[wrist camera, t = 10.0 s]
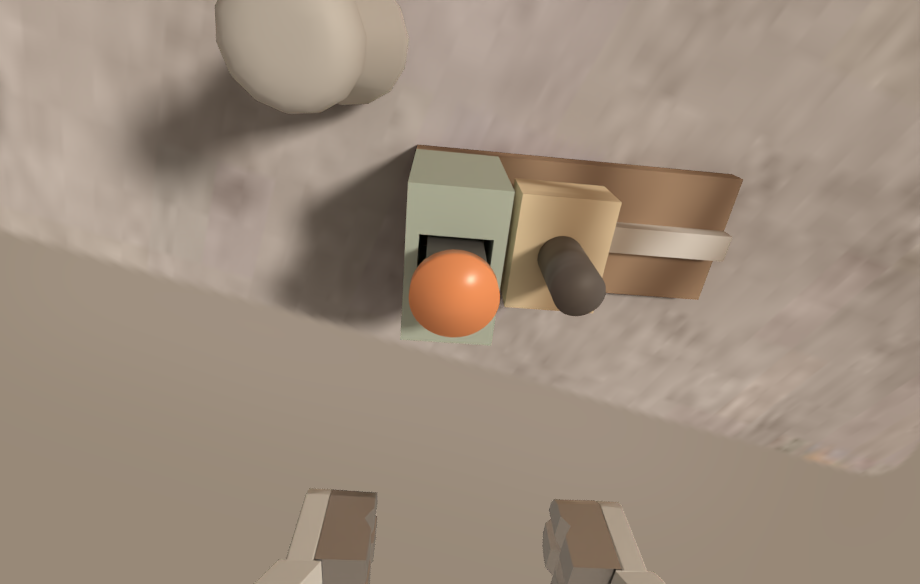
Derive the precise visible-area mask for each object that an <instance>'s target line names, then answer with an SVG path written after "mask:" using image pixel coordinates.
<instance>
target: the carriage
mask: <svg viewBox="0 0 920 584" xmlns="http://www.w3.org/2000/svg"><path fill="white" fill-rule="evenodd" d="M513 189H514V191H515V194H514V201H513V207H512V214H511V220H510V227H509V233H508V239H507V246H506V252H505V259H504V265H503V272H502V278H501V285H500V289H501V293H502V298H503V302H504V306H505V307H513V308H527V309H541V310H555V311H561V312H562V313H564V314H567V315H570V316H581V315H585V314H588V313H593V311H594V310H595V309H596V308H597V307H598V306H599V305H600V304H601V303H602V301H603V299H604V297H605V293H606V285H605V282H604V280H603V278H602V277H603V273H604V269H605V265H606V261H607V258H608V254H609V250H610V246H611V242H612V239H613V235H614V231H615V227H616V223H617V219H618V216H619V212H620V208H621V204H622V202H621V201H620V200H619V199H618V198H617V197H615V196H614V195H613V194H612V193H611V192H610V191H609V190H608V189H607V188H606V187H605V186H597V185H586V184H575V183H564V182H553V181H542V180H531V179H520V178H515V181H514V188H513Z"/></svg>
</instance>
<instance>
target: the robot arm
mask: <svg viewBox="0 0 920 584" xmlns="http://www.w3.org/2000/svg"><path fill="white" fill-rule="evenodd" d="M376 509H377V493H376V492H360V491H347V490H333V489H314V488H309V490H308V492H307V493H306V495H305V498H304V502H303V505H302V508H301V511H300V515H299V518H298V521H297V524H296V528H295V531H294V534H293V537H292V541H291V544H290V547H289V550H288V554H287V557H286V559H278V560H277V561H276V562H275V563H274V564H273V565H272V566H271V567H270V568H269V569H268V570H267V571H266V572H265V573H264V574H263V575H262V576H261V577H260V578H259V579H258V580H257V581H256V582H255V583H254V584H370V568H371V563H372V562H373V557H374V549H375V548H374V547H375V540H376V528H377V516H376ZM549 512H550V517H551V519H550V520H549V521H548V522H546V523H545V527H544V531H543V555H544V561H545V567H546V568H547V570H548V571H549V572H550V573H551V574H552V575H553V577H552V581H551V584H666V583H665V582H663V580H662V579H661V578H660V577H659V576H658V575H657V574H656V573H655V572H652V571H651V572H650V571H647V569H646V567H645V564H644V562H643V559H642V556H641V554H640V551H639V549H638V546H637V544H636V541H635V538H634V536H633V533H632V531H631V528H630V526H629V523H628V521H627V518H626V515H625V513H624V510H623V508H622V506H621V505H620V503H619V502H605V501H604V502H603V501H594V500H560V499H559V500H558V499H554V500H553V501H552V502H551V505H550V508H549Z"/></svg>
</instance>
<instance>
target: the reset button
mask: <svg viewBox="0 0 920 584" xmlns="http://www.w3.org/2000/svg"><path fill="white" fill-rule="evenodd" d="M499 302H500V292H499V287H498V282H497V278H496V275H495V273H494V271H493V269H492V268H491V267H490V265H489V264H488V263H487V259H486V254H485V249H484V244H483V239H473V238H460V237H448V236H436V235H428V241H427V252H426V259H425V260H424V261H422V262H421V263H420V264H419V266H418V267H417V268H416V270H415V271H414V273H413V276H412V278H411V282H410V289H409V306H410V309H411V312H412V314H413V316H414V317H415V319H416V320H417V321H418V322H419V324H420V325H422V326H423V327H424V328H425V329H427V330H428V331H430V332H432V333H434V334H437V335H440V336H444V337H463V336H468V335H471V334H474V333H476V332H478V331H479V330H481V329H483V328H484V327H485V326H486V325H487V324H488V323H489V322H490V321H491V320H492V319H493V317H494V316H495V314H496V312H497V310H498V307H499Z"/></svg>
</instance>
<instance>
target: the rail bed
mask: <svg viewBox="0 0 920 584" xmlns="http://www.w3.org/2000/svg"><path fill="white" fill-rule="evenodd" d="M417 149H423V150H434V151H445V152H455V153H466V154H477V155H487V156H498V157H499V159H500V161H501V163H502V165H503V167H504V169H505V171H506V174H507V176H508V178H509V180H510V182H511V184H512V187H513V188H514V181H515V178H520V179H531V180H542V181H553V182H564V183H575V184H586V185H597V186H605V187H606V188H607V189H608V190H609V191H610V192H611V193H612V194H613V195H614V196H615V197H617V198H618V199H619V200H620V201H621V202H622V204H621V208H620V212H619V216H618V219H617V223H616V227H615V231H614V235H613V239H612V242H611V246H610V250H609V254H608V258H607V261H606V265H605V269H604V273H603V277H602V278H603V280H604V282H605V285H606V293H616V294H630V295H643V296H656V297H670V298H683V299H697V300H698V299H699V296H700V293H701V291H702V288H703V285H704V283H705V280H706V277H707V275H708V272H709V269H710V267H711V264H712V261H721V262H723V260H724V258H725V255H726V253H727V250H728V248H729V245H730V242H731V240H732V236H730V235H729V234H727V233H726V232H724V229H725V227H726V224H727V221H728V219H729V216H730V213H731V211H732V208H733V205H734V203H735V200H736V197H737V195H738V192H739V189H740V187H741V184H742V181H743V179H741V178H739V177H737V176H735V175H732V174H723V173H712V172H702V171H691V170H680V169H670V168H659V167H649V166H638V165H627V164H617V163H606V162H596V161H585V160H575V159H564V158H553V157H543V156H532V155H522V154H511V153H501V152H490V151H479V150H469V149H458V148H448V147H437V146H426V145H417ZM427 241H428V235H424V234H422V239H421V245H426V246H427Z"/></svg>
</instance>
